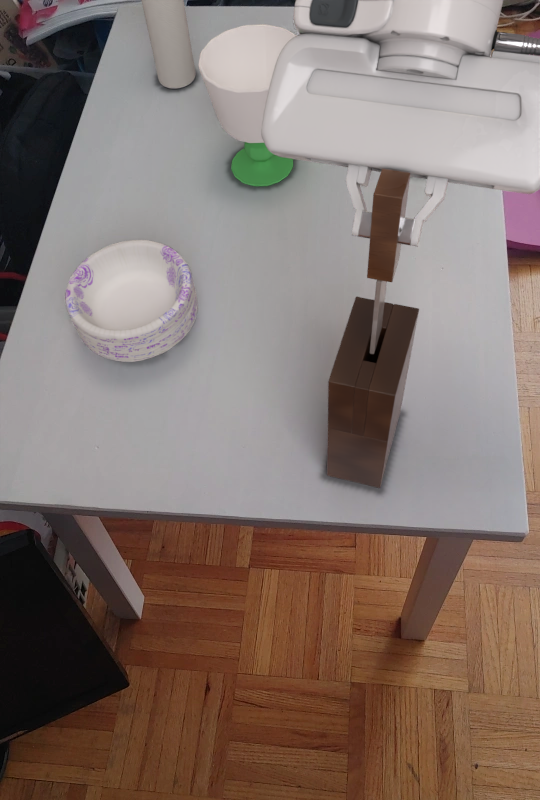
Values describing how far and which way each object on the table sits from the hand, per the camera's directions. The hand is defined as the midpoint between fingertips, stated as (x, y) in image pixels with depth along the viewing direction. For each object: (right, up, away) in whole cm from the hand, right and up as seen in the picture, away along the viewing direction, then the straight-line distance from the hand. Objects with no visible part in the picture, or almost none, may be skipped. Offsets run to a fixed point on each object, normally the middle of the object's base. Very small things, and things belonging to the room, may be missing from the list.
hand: (384, 241), depth 51 cm
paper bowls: (-24, +2, +38) cm, 45 cm away
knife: (+1, -5, +11) cm, 12 cm away
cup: (-9, +28, +50) cm, 58 cm away
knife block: (+2, -13, +28) cm, 31 cm away
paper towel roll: (-23, +47, +61) cm, 80 cm away
